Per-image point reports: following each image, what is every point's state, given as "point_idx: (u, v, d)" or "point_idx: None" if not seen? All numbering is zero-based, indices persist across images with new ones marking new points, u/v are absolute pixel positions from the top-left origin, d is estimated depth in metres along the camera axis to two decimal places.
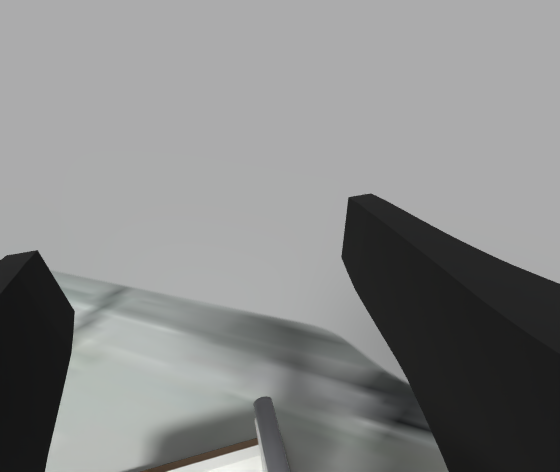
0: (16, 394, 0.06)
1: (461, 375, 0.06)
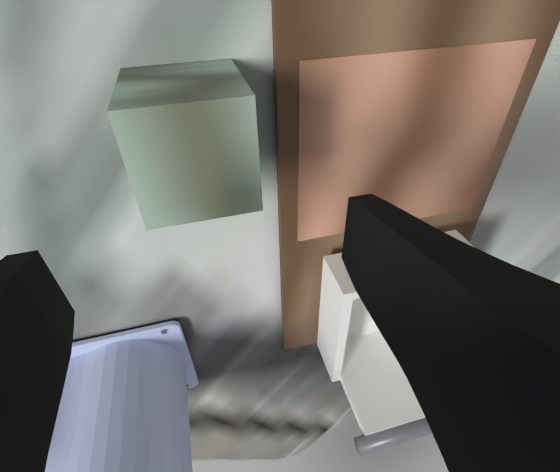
0: (16, 394, 0.06)
1: (461, 375, 0.06)
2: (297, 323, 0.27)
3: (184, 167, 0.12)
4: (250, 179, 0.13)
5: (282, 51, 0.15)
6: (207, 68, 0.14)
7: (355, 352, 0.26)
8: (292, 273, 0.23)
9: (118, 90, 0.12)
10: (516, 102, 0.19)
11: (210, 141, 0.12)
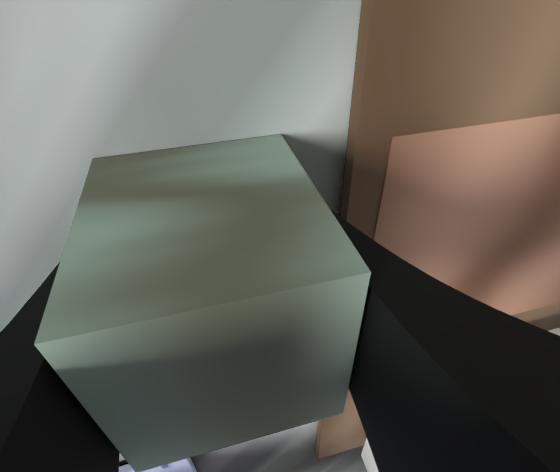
0: None
1: (388, 396, 0.06)
2: (338, 433, 0.21)
3: (212, 392, 0.06)
4: (331, 384, 0.07)
5: (368, 123, 0.09)
6: (246, 164, 0.08)
7: None
8: None
9: (77, 240, 0.06)
10: None
11: (267, 351, 0.06)
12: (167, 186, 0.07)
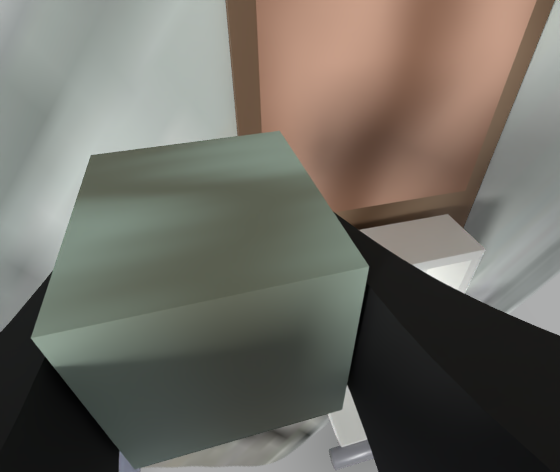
0: None
1: (388, 396, 0.06)
2: None
3: (210, 388, 0.06)
4: (329, 380, 0.07)
5: None
6: (245, 161, 0.08)
7: None
8: None
9: (74, 235, 0.06)
10: (518, 62, 0.17)
11: (265, 346, 0.06)
12: (165, 182, 0.07)
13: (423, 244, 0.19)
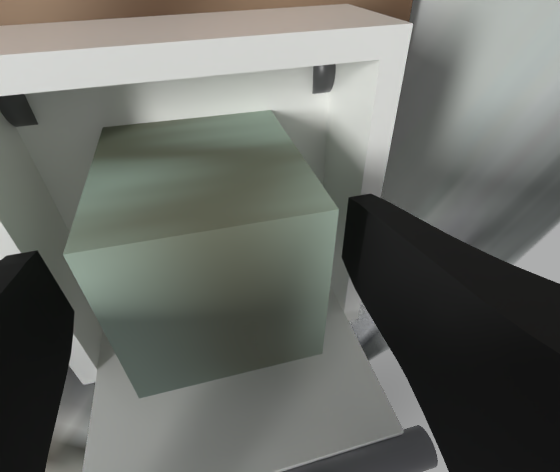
0: (16, 394, 0.06)
1: (461, 375, 0.06)
2: None
3: (206, 318, 0.07)
4: (309, 321, 0.08)
5: None
6: (239, 132, 0.09)
7: None
8: None
9: (92, 186, 0.07)
10: None
11: (253, 279, 0.07)
12: (169, 148, 0.08)
13: (258, 23, 0.07)
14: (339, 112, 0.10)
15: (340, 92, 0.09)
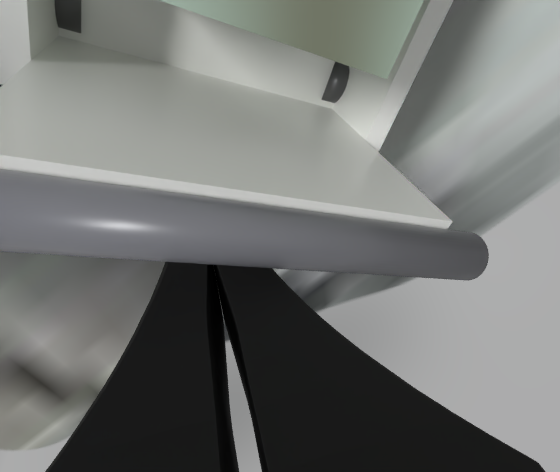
0: (219, 346, 0.07)
1: (256, 434, 0.05)
2: None
3: None
4: None
5: None
6: None
7: (130, 67, 0.09)
8: None
9: None
10: None
11: None
12: None
13: None
14: None
15: None
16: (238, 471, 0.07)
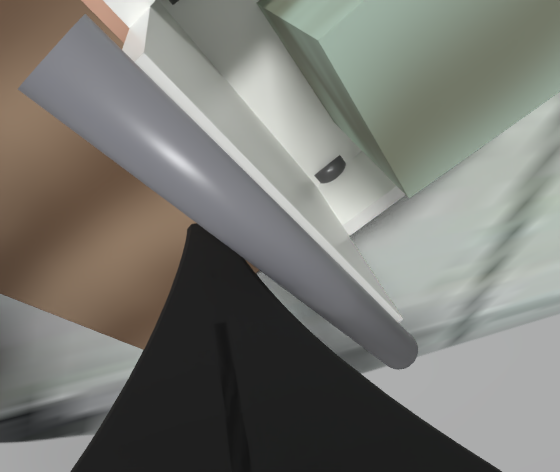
0: None
1: None
2: None
3: (466, 40, 0.07)
4: (456, 149, 0.08)
5: None
6: None
7: (205, 62, 0.09)
8: None
9: None
10: None
11: (516, 55, 0.07)
12: None
13: None
14: None
15: None
16: None
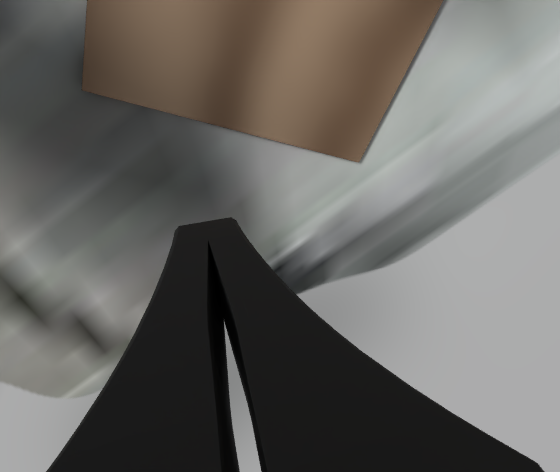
0: (219, 346, 0.07)
1: (256, 434, 0.05)
2: (119, 14, 0.13)
3: None
4: None
5: None
6: None
7: None
8: None
9: None
10: None
11: None
12: None
13: None
14: None
15: None
16: (238, 471, 0.07)
